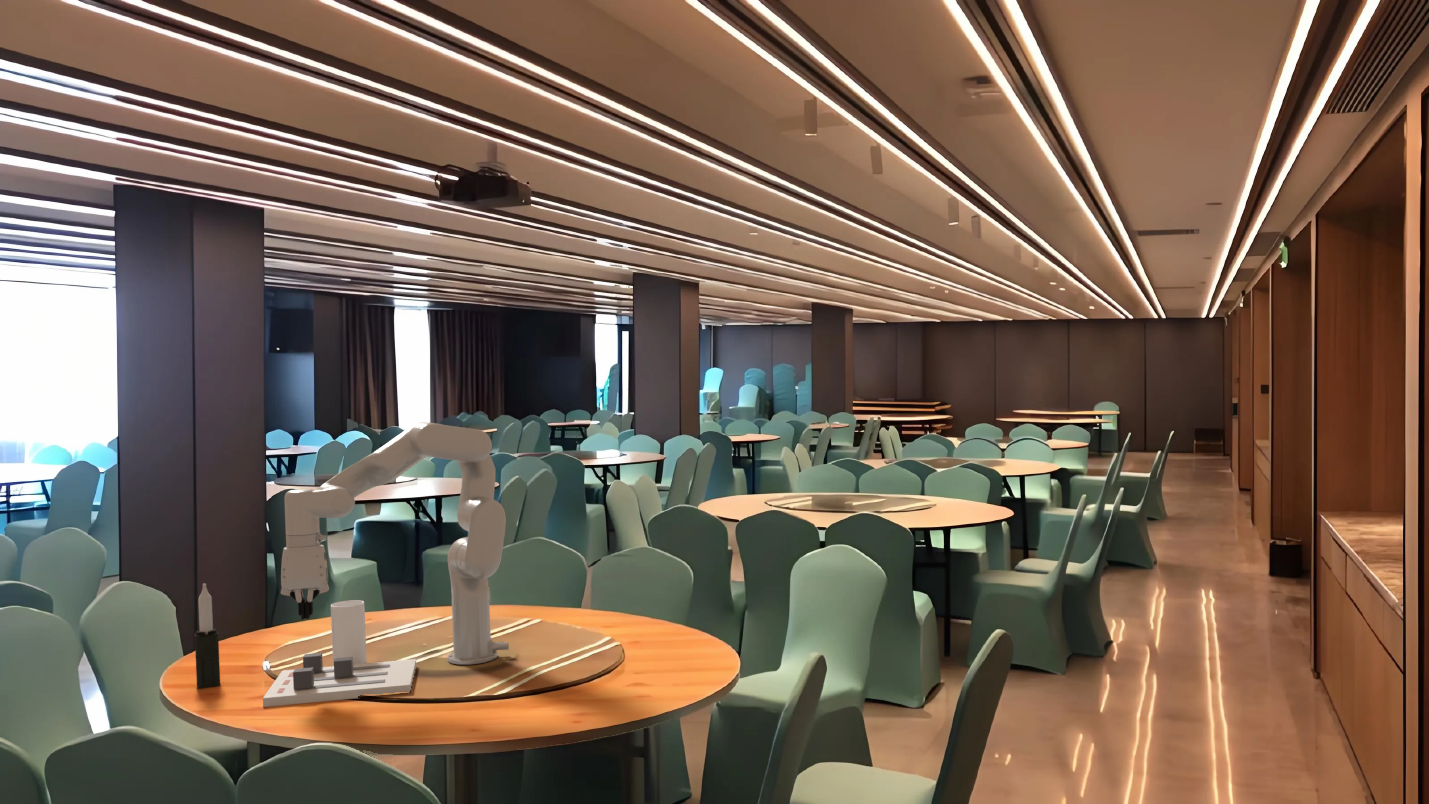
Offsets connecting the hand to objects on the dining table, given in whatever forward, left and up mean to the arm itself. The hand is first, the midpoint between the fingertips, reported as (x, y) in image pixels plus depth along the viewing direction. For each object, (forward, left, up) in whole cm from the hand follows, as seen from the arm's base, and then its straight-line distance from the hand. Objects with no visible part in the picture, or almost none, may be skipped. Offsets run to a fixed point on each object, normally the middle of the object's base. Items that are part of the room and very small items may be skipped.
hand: (306, 617), depth 250 cm
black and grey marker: (+25, -12, -17) cm, 33 cm away
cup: (-7, -20, -17) cm, 27 cm away
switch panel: (-8, 0, -17) cm, 19 cm away
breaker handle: (-8, 0, -15) cm, 17 cm away
